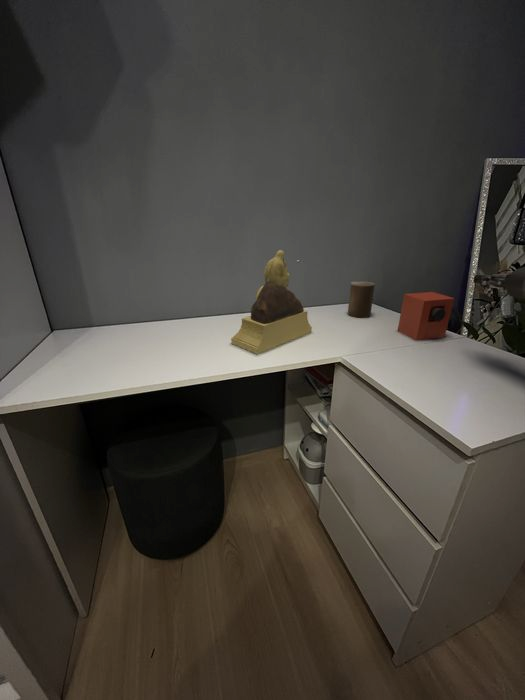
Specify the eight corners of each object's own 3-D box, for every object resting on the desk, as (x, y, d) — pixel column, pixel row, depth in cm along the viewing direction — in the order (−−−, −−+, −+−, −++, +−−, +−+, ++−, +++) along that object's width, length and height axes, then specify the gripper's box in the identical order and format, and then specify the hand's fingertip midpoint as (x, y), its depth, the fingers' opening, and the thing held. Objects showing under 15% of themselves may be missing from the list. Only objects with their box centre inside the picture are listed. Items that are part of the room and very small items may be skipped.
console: (444, 336, 106) (454, 298, 101) (415, 340, 104) (424, 300, 98) (424, 327, 115) (432, 291, 109) (397, 330, 112) (404, 294, 107)
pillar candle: (367, 319, 125) (372, 283, 119) (344, 315, 130) (348, 281, 124) (372, 313, 133) (377, 279, 127) (351, 310, 138) (354, 277, 131)
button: (443, 321, 101) (447, 308, 99) (432, 322, 100) (435, 309, 98) (439, 319, 103) (442, 307, 101) (428, 320, 102) (431, 308, 100)
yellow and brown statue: (285, 324, 120) (287, 246, 108) (311, 332, 112) (316, 248, 100) (231, 343, 103) (226, 252, 90) (257, 354, 94) (255, 255, 82)
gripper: (510, 302, 70) (453, 293, 87) (557, 298, 72) (493, 290, 89) (516, 269, 68) (457, 266, 84) (565, 266, 70) (498, 263, 86)
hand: (476, 278), depth 86 cm, fingers closed
